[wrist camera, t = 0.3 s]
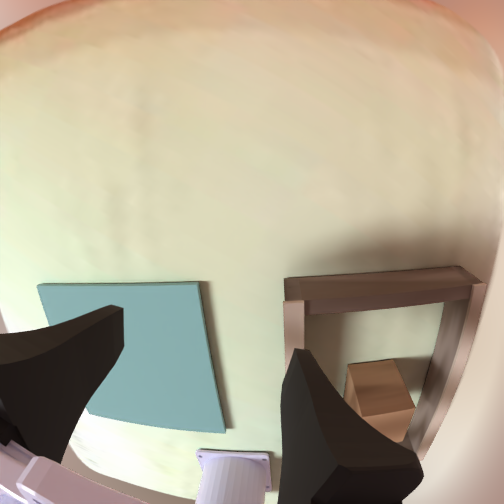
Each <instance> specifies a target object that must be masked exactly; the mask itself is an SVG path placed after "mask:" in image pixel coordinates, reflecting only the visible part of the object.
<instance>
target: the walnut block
mask: <svg viewBox="0 0 504 504" xmlns="http://www.w3.org/2000/svg"><path fill="white" fill-rule="evenodd" d="M343 399H344V400H345V402H346V403H347V404H348V405H349V406H350V407H351V408H352V409H353V410H354V411H355V412H356V413H357V414H358V415H359V416H360V417H361V418H363V419H364V420H365V421H366V422H367V423H369V424H370V425H371V426H372V427H374V428H375V429H376V430H378V431H379V432H380V433H382V434H383V435H385V436H386V437H388V438H389V439H391V440H392V441H394V442H401V441H403V439H404V437H405V434H406V432H407V429H408V427H409V424H410V422H411V419H412V416H413V414H414V411H415V408H416V407H415V405H414V403H413V401H412V399H411V396H410V394H409V392H408V390H407V388H406V385H405V383H404V381H403V379H402V377H401V375H400V373H399V371H398V369H397V367H396V364H395V362H394V360H393V359H392V360H385V361H377V362H369V363H361V364H351V365H348V368H347V376H346V384H345V391H344V398H343Z"/></svg>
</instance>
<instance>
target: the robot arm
mask: <svg viewBox="0 0 504 504" xmlns="http://www.w3.org/2000/svg"><path fill="white" fill-rule="evenodd" d="M124 347H125V346H124V308H122V307H119V306H115V305H112V304H111V305H107V306H105V307H102V308H99V309H97V310H94V311H92V312H89V313H86V314H84V315H81V316H79V317H76V318H74V319H71V320H68V321H65V322H62V323H59V324H56V325H53V326H49V327H45V328H41V329H37V330H32V331H25V332H18V333H7V334H0V504H150V503H147V502H145V501H142V500H140V499H137V498H135V497H132V496H130V495H127V494H125V493H122V492H119V491H117V490H114V489H112V488H109V487H107V486H104V485H102V484H100V483H97V482H95V481H93V480H91V479H88V478H86V477H84V476H82V475H80V474H78V473H76V472H74V471H72V470H70V469H68V468H66V467H64V466H62V465H60V464H61V461H62V458H63V455H64V453H65V450H66V447H67V445H68V443H69V440H70V438H71V435H72V433H73V431H74V429H75V427H76V424H77V422H78V420H79V418H80V416H81V414H82V412H83V411H84V409H85V407H86V405H87V403H88V402H89V400H90V399H91V397H92V396H93V394H94V393H95V392H96V390H97V389H98V387H99V386H100V385H101V383H102V382H103V381H104V379H105V378H106V376H107V375H108V374H109V372H110V371H111V370H112V368H113V367H114V365H115V364H116V362H117V360H118V358H119V356H120V354H121V353H122V351H123V349H124ZM280 407H281V428H282V468H281V479H280V488H279V496H278V503H277V504H402V500H403V499H405V498H406V497H407V496H408V495H409V494H410V493H411V492H412V491H413V490H415V489H416V488H417V486H418V485H419V484H420V483H421V482H422V479H423V477H424V474H423V470H422V467H421V464H420V461H419V458H418V456H417V454H416V453H415V452H413V451H411V450H409V449H407V448H405V447H403V446H401V445H399V444H398V443H396V442H394V441H392V440H391V439H389V438H388V437H386V436H385V435H383V434H382V433H380V432H379V431H378V430H376V429H375V428H374V427H372V426H371V425H370V424H369V423H367V422H366V421H365V420H364V419H363V418H361V417H360V416H359V415H358V414H357V413H356V412H355V411H354V410H353V409H352V408H351V407H350V406H349V405H348V404H347V403H346V402H345V400H344V399H343V398H342V397H341V396H340V394H339V393H338V392H337V391H336V390H335V388H334V387H333V386H332V384H331V383H330V381H329V380H328V379H327V377H326V376H325V374H324V373H323V371H322V370H321V368H320V367H319V365H318V363H317V362H316V360H315V359H314V357H313V355H312V354H311V352H310V351H309V350H304V349H298V348H294V351H293V354H292V357H291V360H290V363H289V366H288V369H287V372H286V375H285V378H284V381H283V384H282V392H281V404H280ZM195 454H196V456H197V459H198V461H199V464H200V466H201V469H202V471H203V474H202V478H201V482H200V486H199V490H198V494H197V498H196V502H195V504H264V502H265V492H270V491H271V490H272V485H271V473H270V460H269V454H268V453H257V452H227V451H212V450H200V449H198V450H196V452H195Z"/></svg>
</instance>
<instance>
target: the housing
mask: <svg viewBox="0 0 504 504" xmlns="http://www.w3.org/2000/svg"><path fill="white" fill-rule="evenodd" d="M486 287H487V284H486V283H483V282H482V281H480V280H479V279H478V278H476V277H475V276H474V275H472V274H471V273H469V272H468V271H467V270H465V269H464V268H462V267H461V266H454V267H443V268H432V269H420V270H408V271H395V272H381V273H367V274H352V275H337V276H320V277H302V278H284V293H285V301H283V311H284V338H285V371H286V372H287V369H288V366H289V363H290V360H291V357H292V354H293V351H294V348H298V349H304V315H315V314H330V313H344V312H356V311H367V310H378V309H388V308H398V307H407V306H415V305H423V304H431V303H439V302H445V304H444V309H443V314H442V319H441V324H440V328H439V333H438V337H437V341H436V345H435V349H434V353H433V356H432V360H431V364H430V367H429V371H428V374H427V377H426V381H425V384H424V387H423V390H422V393H421V396H420V399H419V402H418V405H417V407H416V410H415V413H414V416H413V418H412V421H411V423H410V426H409V428H408V431H407V432H406V434H405V437H404V439H403V441H401V442H396V443H398V444H399V445H401V446H403V447H405V448H407V449H409V450H411V451H413V452H415V453H416V454H417V456H418V458H419V461H421V460H423V459H424V457H425V455H426V453H427V451H428V450H429V448H430V446H431V444H432V442H433V440H434V438H435V436H436V434H437V432H438V430H439V428H440V426H441V424H442V422H443V420H444V417H445V415H446V413H447V411H448V408H449V406H450V404H451V401H452V399H453V397H454V394H455V392H456V389H457V387H458V384H459V381H460V379H461V376H462V373H463V370H464V368H465V365H466V362H467V359H468V356H469V353H470V350H471V346H472V343H473V340H474V336H475V333H476V329H477V325H478V322H479V318H480V314H481V310H482V305H483V301H484V296H485V292H486Z"/></svg>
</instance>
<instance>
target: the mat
mask: <svg viewBox="0 0 504 504" xmlns="http://www.w3.org/2000/svg"><path fill="white" fill-rule="evenodd" d="M37 289H38V293H39V296H40V299H41V302H42V305H43V308H44V311H45V314H46V317H47V320H48V323H49V326H53V325H56V324H59V323H62V322H65V321H68V320H71V319H74V318H76V317H79V316H81V315H84V314H86V313H89V312H92V311H94V310H97V309H99V308H102V307H105V306H107V305H111V304H112V305H115V306H119V307H122V308H124V346H125V347H124V349H123V351H122V353H121V354H120V356H119V358H118V360H117V362H116V364H115V365H114V367H113V368H112V370H111V371H110V372H109V374H108V375H107V376H106V378H105V379H104V381H103V382H102V383H101V385H100V386H99V387H98V389H97V390H96V392H95V393H94V394H93V396H92V397H91V399H90V400H89V402H88V403H87V405H86V409H87V410H88V412H89V414H92V415H96V416H101V417H105V418H110V419H114V420H119V421H124V422H130V423H135V424H141V425H147V426H154V427H161V428H169V429H177V430H186V431H196V432H209V433H226V427H225V422H224V418H223V413H222V408H221V404H220V399H219V394H218V389H217V384H216V379H215V374H214V369H213V364H212V359H211V353H210V348H209V342H208V337H207V331H206V325H205V319H204V313H203V307H202V301H201V294H200V288H199V282H179V283H133V284H39V285H37Z"/></svg>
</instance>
